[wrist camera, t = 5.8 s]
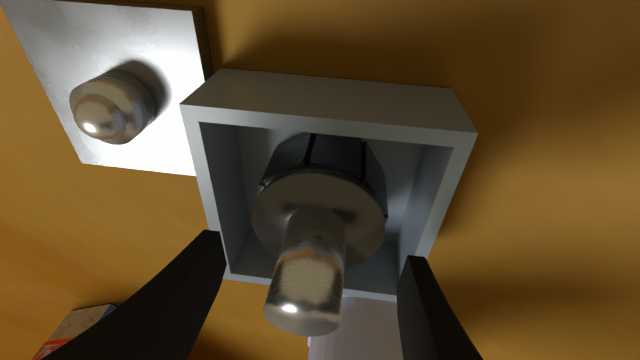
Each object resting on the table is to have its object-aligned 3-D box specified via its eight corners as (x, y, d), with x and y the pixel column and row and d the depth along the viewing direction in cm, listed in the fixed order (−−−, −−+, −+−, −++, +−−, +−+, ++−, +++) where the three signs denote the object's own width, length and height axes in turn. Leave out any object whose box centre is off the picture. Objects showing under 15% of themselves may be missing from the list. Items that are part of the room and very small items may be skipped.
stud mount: (228, 168, 17) (201, 212, 14) (94, 153, 18) (42, 192, 15) (202, 7, 12) (154, 25, 10) (18, -7, 13) (-79, 6, 10)
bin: (401, 245, 19) (408, 303, 16) (244, 226, 20) (221, 278, 17) (451, 88, 13) (478, 133, 10) (221, 68, 14) (178, 104, 11)
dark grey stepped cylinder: (398, 147, 15) (422, 290, 9) (361, 228, 18) (359, 369, 12) (280, 116, 14) (218, 240, 8) (265, 204, 18) (214, 336, 12)
